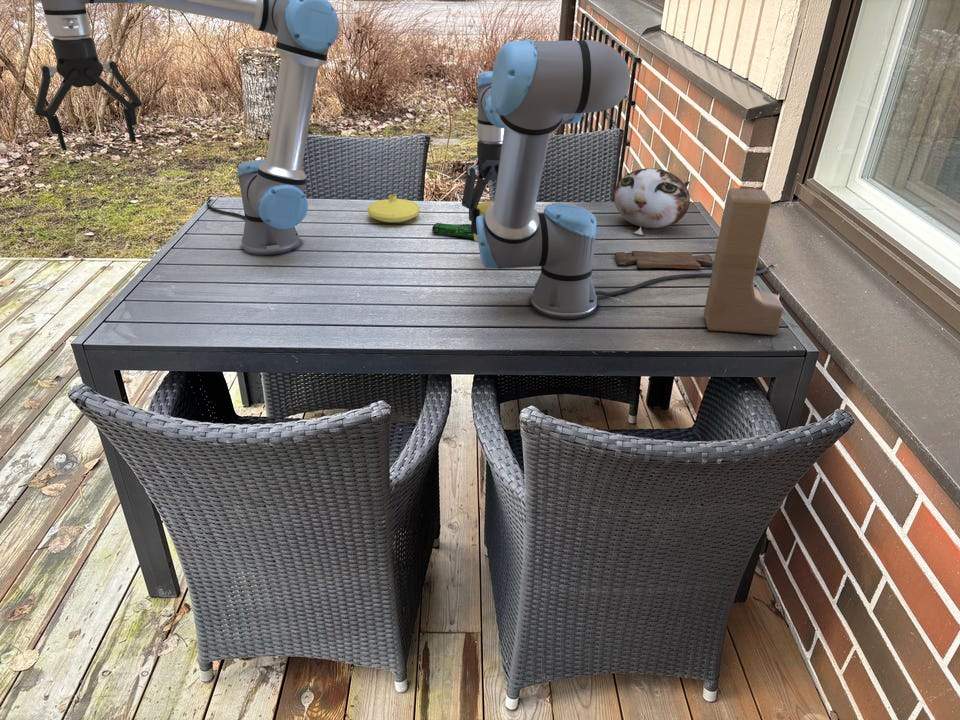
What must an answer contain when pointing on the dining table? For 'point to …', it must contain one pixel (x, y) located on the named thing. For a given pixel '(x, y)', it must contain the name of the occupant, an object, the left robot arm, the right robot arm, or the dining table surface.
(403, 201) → the yellow pot lid
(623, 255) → the wooden paddle board
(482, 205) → the canister
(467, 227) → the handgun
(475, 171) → the right robot arm
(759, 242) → the decorative block
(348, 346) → the dining table surface
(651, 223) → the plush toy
